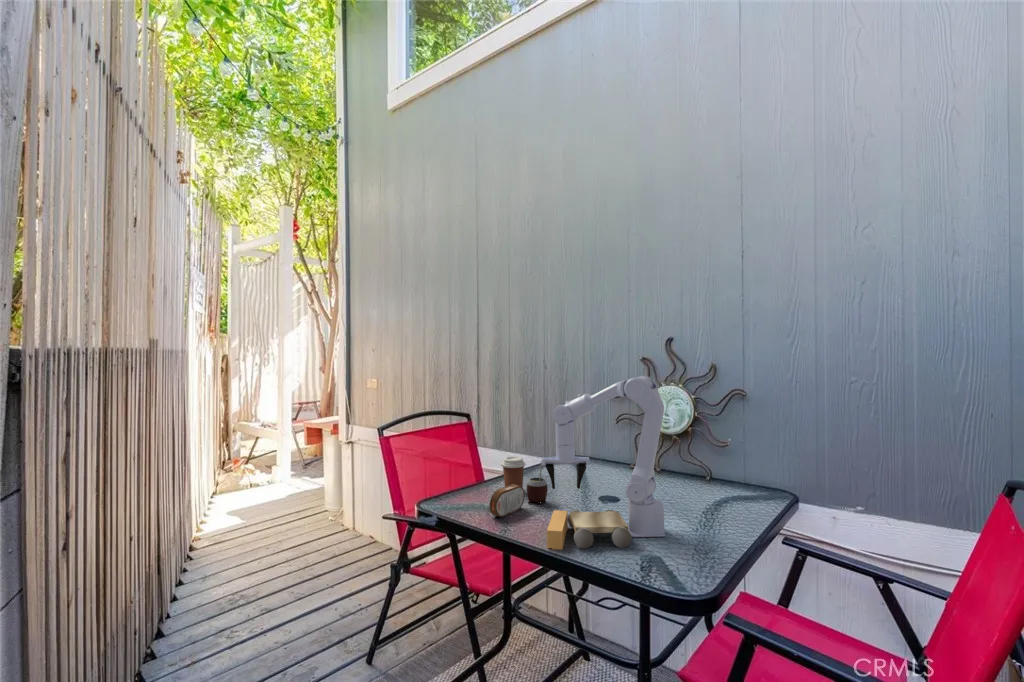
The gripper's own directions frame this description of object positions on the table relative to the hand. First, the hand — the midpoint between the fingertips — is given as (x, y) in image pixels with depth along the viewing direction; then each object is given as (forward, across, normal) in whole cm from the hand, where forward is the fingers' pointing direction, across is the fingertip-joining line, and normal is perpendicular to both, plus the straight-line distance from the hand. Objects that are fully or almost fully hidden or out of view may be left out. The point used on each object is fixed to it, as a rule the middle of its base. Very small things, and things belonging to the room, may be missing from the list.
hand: (565, 488), depth 150 cm
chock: (+10, +4, +14) cm, 18 cm away
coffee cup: (+10, +16, -30) cm, 35 cm away
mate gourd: (+10, +8, -16) cm, 20 cm away
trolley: (+9, -7, +15) cm, 19 cm away
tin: (+10, +18, -6) cm, 21 cm away
